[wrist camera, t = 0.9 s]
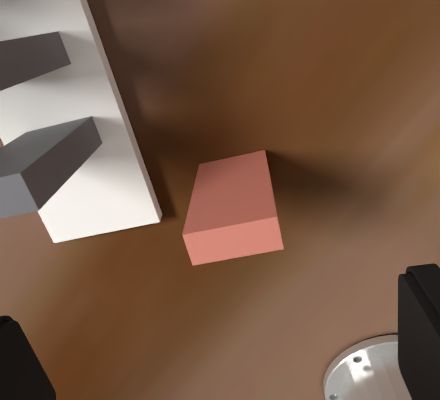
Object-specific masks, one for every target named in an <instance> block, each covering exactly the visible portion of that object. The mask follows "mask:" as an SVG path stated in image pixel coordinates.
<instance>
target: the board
mask: <svg viewBox="0 0 440 400" xmlns="http://www.w3.org/2000/svg"><path fill="white" fill-rule="evenodd" d="M57 31H59V34H60V36H61V39H62V41H63V44H64V47H65V49H66V52H67V54H68V57H69V59H70V62H71V64H70V65H67V66H64V67H62V68H59V69H57V70H54V71H51V72H49V73H46V74H43V75H41V76H38V77H36V78H33V79H30V80H28V81H25V82H23V83H20V84H17V85H15V86H12V87H9V88H7V89H4V90H2V91H0V138H1V140H2V142H3V144H4V146H5V145H6V144H8V143H9V142H11V141H13V140H14V139H16V138H17V137H19V136H21V135H22V134H24V133H25V132H29V131H33V130H37V129H41V128H45V127H49V126H53V125H57V124H61V123H65V122H69V121H73V120H77V119H81V118H86V117H90V116H92V118H93V120H94V123H95V125H96V128H97V130H98V133H99V135H100V138H101V140H102V144H101V145H100V147H99V148H98V149H97V150H96V151H95V152H94V153H93V154H92V155H91V156H90V157H89V158H88V159H87V160H86V161H85V162H84V163H83V164H82V166H81V167H80V168H79V169H78V170H77V171H76V172H75V173H74V174H73V175H72V176H71V177H70V178H69V179H68V180H67V181H66V182H65V184H64V185H63V186H62V187H61V188H60V189H59V190H58V191H57V192H56V193H55V194H54V195H53V196H52V197H51V198H50V199H49V200H48V202H47V203H46V204H45V205H44V206H43V207H42V208H41V209H40V210H39V211H38V213H39V215H40V217H41V219H42V221H43V222H44V224H45V226H46V228H47V230H48V232H49V234H50V236H51V238H52V240H53V242H54V243H57V242H62V241H67V240H72V239H77V238H82V237H87V236H92V235H97V234H102V233H107V232H112V231H117V230H122V229H127V228H132V227H137V226H142V225H147V224H152V223H157V222H160V220H161V217H162V212H161V209H160V206H159V203H158V201H157V198H156V195H155V192H154V189H153V186H152V184H151V181H150V178H149V175H148V172H147V169H146V167H145V164H144V161H143V158H142V155H141V153H140V150H139V147H138V144H137V141H136V138H135V136H134V133H133V130H132V127H131V124H130V121H129V119H128V116H127V113H126V110H125V107H124V104H123V102H122V99H121V96H120V93H119V90H118V87H117V85H116V82H115V79H114V76H113V73H112V71H111V68H110V65H109V62H108V59H107V56H106V54H105V51H104V48H103V45H102V42H101V39H100V37H99V34H98V31H97V28H96V25H95V22H94V20H93V17H92V14H91V11H90V8H89V5H88V3H87V0H0V41H5V40H11V39H16V38H22V37H28V36H34V35H39V34H45V33H51V32H57Z"/></svg>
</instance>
